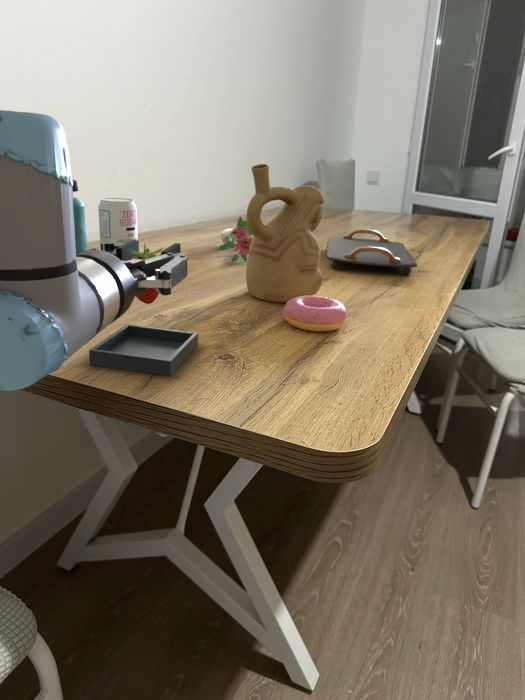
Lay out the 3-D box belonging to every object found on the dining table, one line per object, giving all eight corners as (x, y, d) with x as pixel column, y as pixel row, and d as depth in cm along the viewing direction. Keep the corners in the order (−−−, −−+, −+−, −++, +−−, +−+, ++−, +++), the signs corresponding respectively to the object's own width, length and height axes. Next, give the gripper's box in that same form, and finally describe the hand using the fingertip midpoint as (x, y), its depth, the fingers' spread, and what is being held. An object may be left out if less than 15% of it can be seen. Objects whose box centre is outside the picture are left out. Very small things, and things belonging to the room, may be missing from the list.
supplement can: (109, 261, 124) (106, 196, 118) (143, 264, 123) (141, 199, 118) (95, 268, 116) (91, 200, 111) (131, 271, 116) (129, 202, 110)
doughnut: (359, 328, 88) (362, 305, 87) (310, 338, 82) (312, 313, 81) (317, 311, 96) (319, 289, 95) (269, 319, 90) (271, 295, 89)
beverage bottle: (56, 278, 107) (47, 176, 99) (90, 278, 109) (83, 178, 101) (54, 287, 101) (45, 179, 93) (90, 286, 103) (83, 181, 96)
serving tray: (418, 279, 126) (423, 253, 124) (323, 270, 128) (326, 245, 126) (400, 250, 162) (403, 230, 160) (326, 244, 164) (328, 224, 162)
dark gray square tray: (89, 364, 68) (88, 350, 67) (127, 336, 78) (126, 323, 77) (170, 376, 66) (170, 361, 65) (198, 346, 76) (198, 332, 75)
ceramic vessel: (341, 297, 106) (356, 169, 97) (274, 313, 93) (285, 167, 84) (281, 279, 117) (290, 163, 108) (214, 292, 104) (218, 160, 95)
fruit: (146, 311, 66) (144, 248, 63) (117, 303, 68) (114, 242, 65) (174, 302, 70) (174, 243, 67) (145, 295, 73) (144, 238, 70)
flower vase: (239, 271, 155) (267, 272, 122) (201, 258, 152) (218, 256, 118) (251, 233, 154) (283, 224, 121) (212, 219, 151) (233, 205, 117)
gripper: (1, 322, 53) (95, 272, 74) (176, 339, 51) (220, 283, 73) (-9, 248, 50) (92, 219, 71) (176, 263, 48) (222, 228, 70)
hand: (156, 251), depth 72 cm, fingers closed on fruit, 5 cm apart
